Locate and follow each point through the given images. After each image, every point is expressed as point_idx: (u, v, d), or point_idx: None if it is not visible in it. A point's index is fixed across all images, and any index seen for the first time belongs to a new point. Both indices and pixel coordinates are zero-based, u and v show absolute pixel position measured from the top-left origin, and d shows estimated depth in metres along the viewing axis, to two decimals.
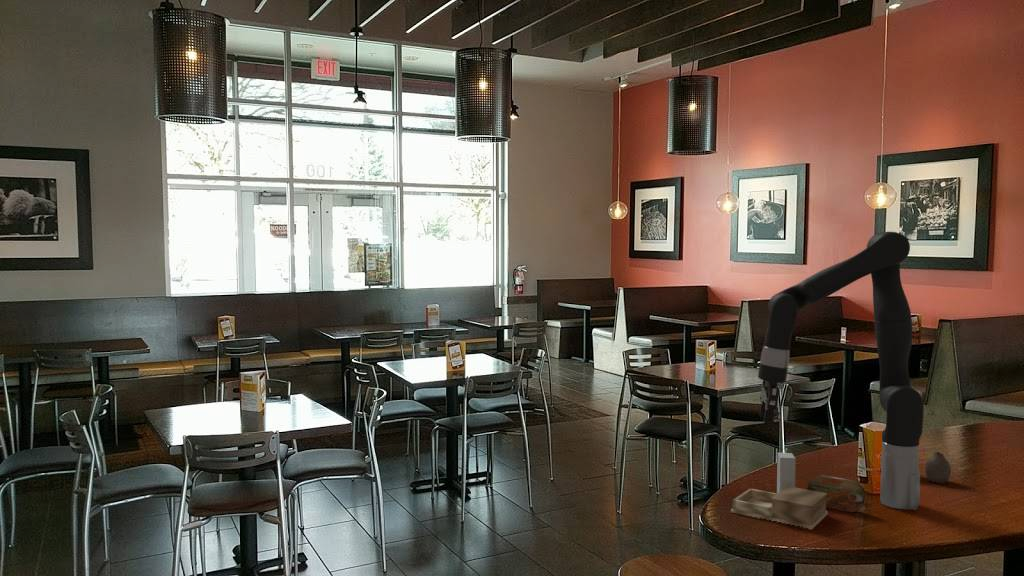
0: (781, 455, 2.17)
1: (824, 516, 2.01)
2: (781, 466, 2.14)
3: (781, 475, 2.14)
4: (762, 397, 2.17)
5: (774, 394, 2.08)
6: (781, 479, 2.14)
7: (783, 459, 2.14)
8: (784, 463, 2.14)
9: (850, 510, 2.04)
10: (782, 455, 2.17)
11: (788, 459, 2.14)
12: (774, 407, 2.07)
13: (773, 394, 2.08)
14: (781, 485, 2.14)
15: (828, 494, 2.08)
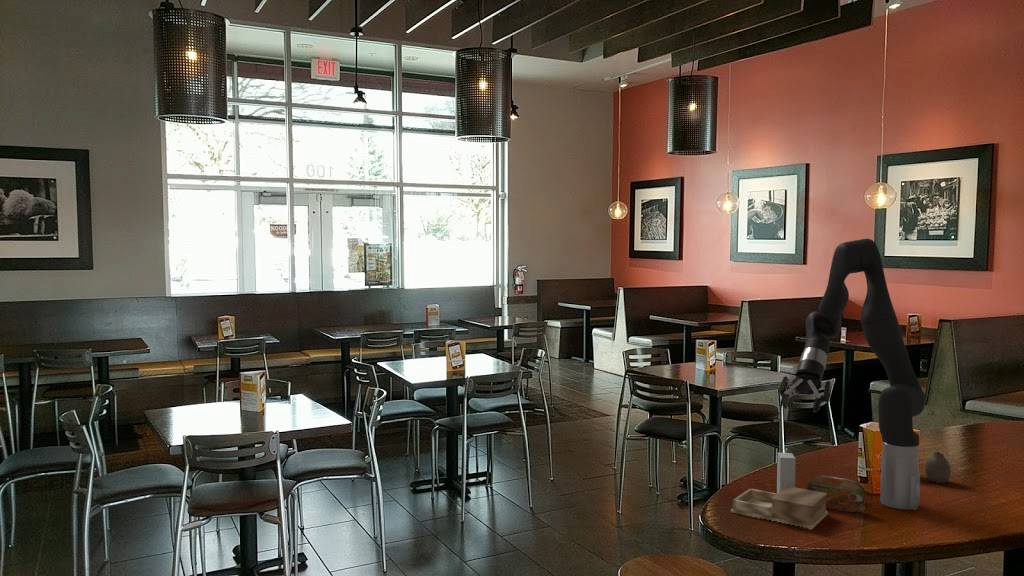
0: (781, 455, 2.17)
1: (824, 516, 2.01)
2: (781, 466, 2.14)
3: (781, 475, 2.14)
4: (814, 396, 2.27)
5: None
6: (781, 479, 2.14)
7: (783, 459, 2.14)
8: (784, 463, 2.14)
9: (850, 510, 2.04)
10: (782, 455, 2.17)
11: (788, 459, 2.14)
12: None
13: None
14: (781, 485, 2.14)
15: (828, 494, 2.08)
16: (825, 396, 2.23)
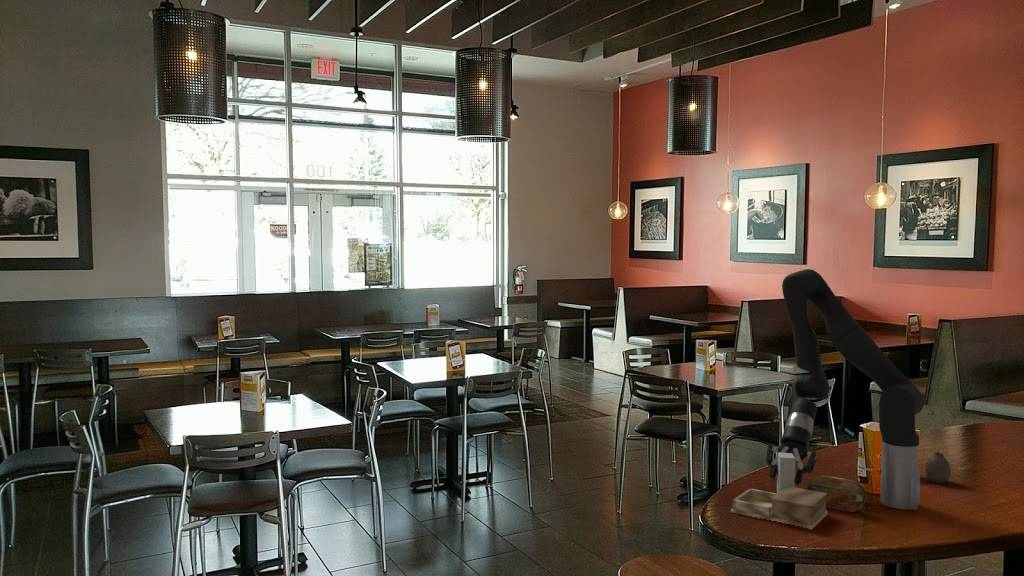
0: (781, 455, 2.17)
1: (824, 516, 2.01)
2: (781, 466, 2.14)
3: (781, 475, 2.14)
4: None
5: None
6: (781, 479, 2.14)
7: (783, 459, 2.14)
8: (784, 463, 2.14)
9: (850, 510, 2.04)
10: (782, 455, 2.16)
11: (788, 459, 2.14)
12: None
13: None
14: (781, 485, 2.14)
15: (828, 494, 2.08)
16: (807, 467, 2.14)
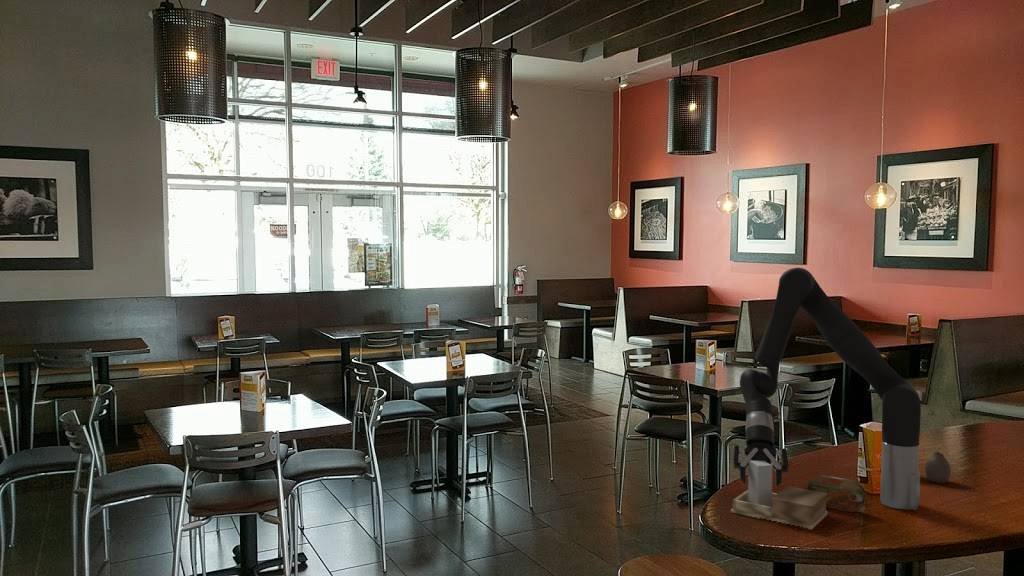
0: (756, 463, 2.06)
1: (824, 516, 2.01)
2: (759, 475, 2.03)
3: (759, 484, 2.03)
4: None
5: (734, 452, 2.12)
6: (759, 488, 2.03)
7: (761, 467, 2.03)
8: (762, 471, 2.03)
9: (850, 510, 2.04)
10: (757, 463, 2.06)
11: (765, 467, 2.03)
12: None
13: None
14: (759, 495, 2.03)
15: (828, 494, 2.08)
16: (786, 466, 2.05)
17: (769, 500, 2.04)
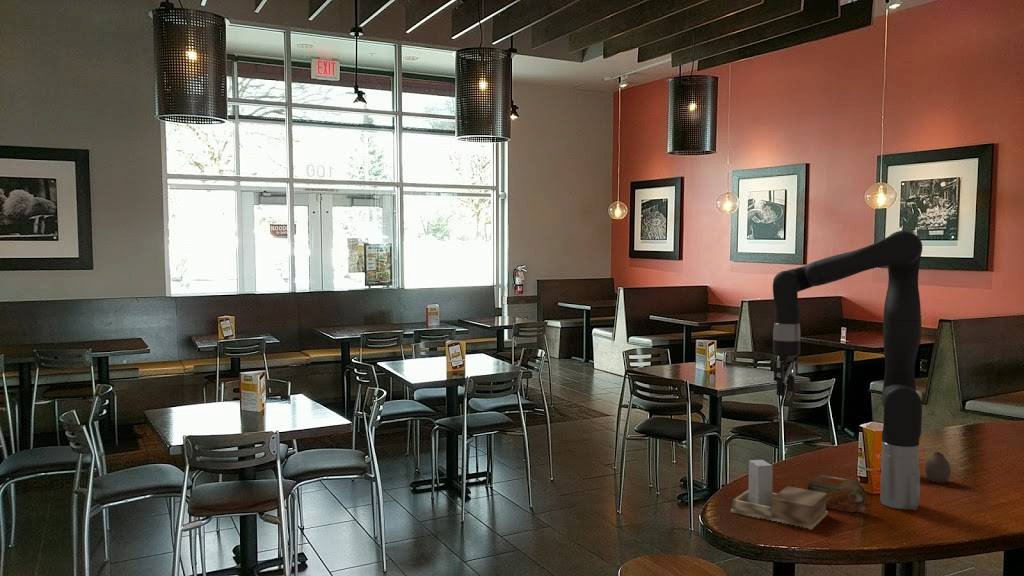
0: (756, 463, 2.06)
1: (824, 516, 2.01)
2: (759, 475, 2.03)
3: (759, 484, 2.03)
4: None
5: (778, 366, 2.18)
6: (759, 488, 2.03)
7: (761, 467, 2.03)
8: (762, 471, 2.03)
9: (850, 510, 2.04)
10: (757, 463, 2.06)
11: (766, 467, 2.03)
12: (780, 379, 2.18)
13: (778, 366, 2.18)
14: (759, 495, 2.03)
15: (828, 494, 2.08)
16: (797, 374, 2.28)
17: (769, 500, 2.04)
